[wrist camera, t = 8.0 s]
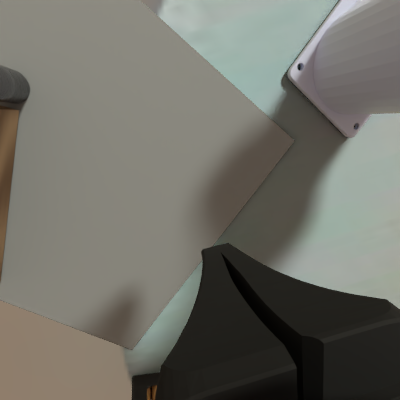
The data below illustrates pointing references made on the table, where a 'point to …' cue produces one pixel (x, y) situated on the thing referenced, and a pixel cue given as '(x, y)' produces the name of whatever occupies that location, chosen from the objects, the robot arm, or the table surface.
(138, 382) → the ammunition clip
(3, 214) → the brown rectangular bar
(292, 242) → the table surface
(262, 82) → the table surface
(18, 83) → the hinge post
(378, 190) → the table surface
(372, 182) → the table surface
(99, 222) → the mat
